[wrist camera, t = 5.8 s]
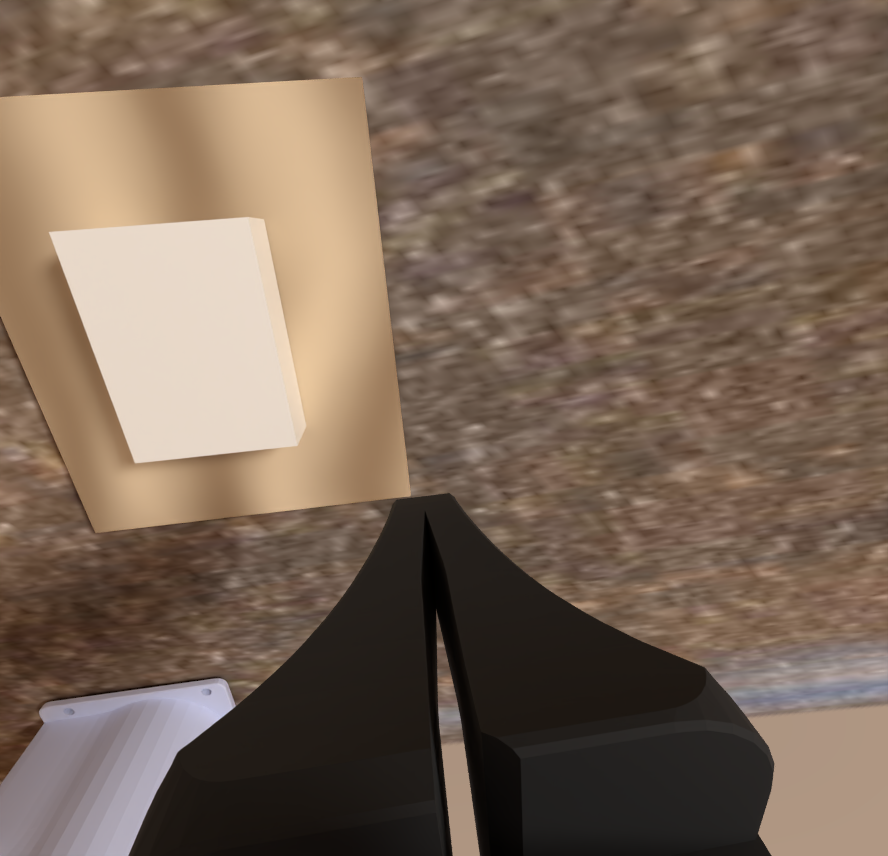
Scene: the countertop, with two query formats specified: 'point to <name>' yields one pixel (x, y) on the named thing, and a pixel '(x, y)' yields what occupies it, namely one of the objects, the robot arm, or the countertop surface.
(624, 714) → the robot arm
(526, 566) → the countertop surface
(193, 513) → the mat
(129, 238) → the block
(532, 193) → the countertop surface
